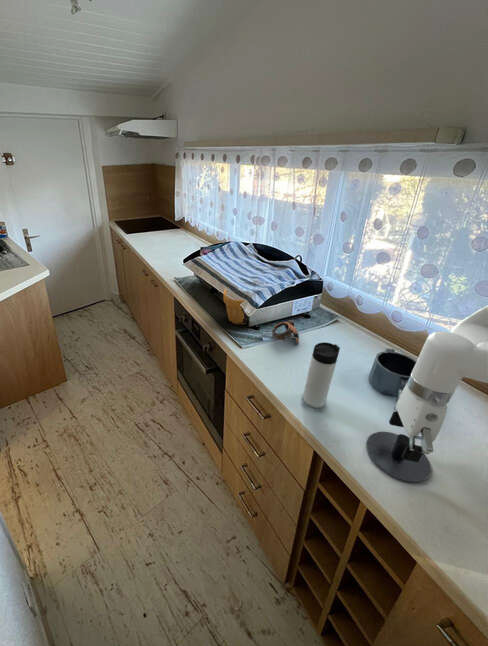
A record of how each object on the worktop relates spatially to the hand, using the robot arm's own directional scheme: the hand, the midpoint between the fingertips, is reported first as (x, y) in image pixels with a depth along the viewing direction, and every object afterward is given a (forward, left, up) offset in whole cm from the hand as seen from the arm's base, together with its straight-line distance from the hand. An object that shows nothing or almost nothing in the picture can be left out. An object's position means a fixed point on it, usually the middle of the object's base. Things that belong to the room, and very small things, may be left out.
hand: (402, 441), depth 72 cm
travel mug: (+18, -14, -6) cm, 23 cm away
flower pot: (+46, -56, -6) cm, 73 cm away
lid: (0, 0, -5) cm, 5 cm away
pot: (-6, -28, -6) cm, 29 cm away
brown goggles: (+26, -46, -6) cm, 53 cm away
